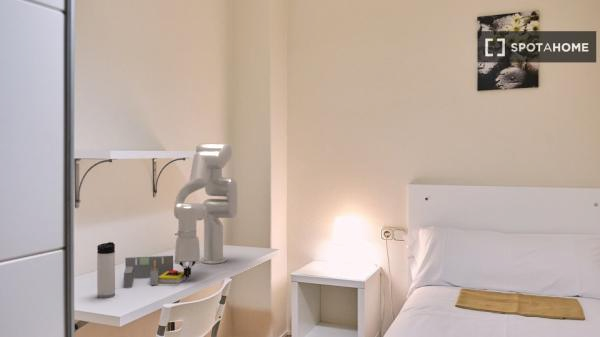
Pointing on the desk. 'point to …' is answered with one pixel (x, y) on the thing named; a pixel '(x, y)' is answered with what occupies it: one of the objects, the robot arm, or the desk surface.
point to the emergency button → (171, 278)
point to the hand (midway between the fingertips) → (187, 276)
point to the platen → (154, 275)
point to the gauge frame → (145, 267)
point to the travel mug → (106, 270)
